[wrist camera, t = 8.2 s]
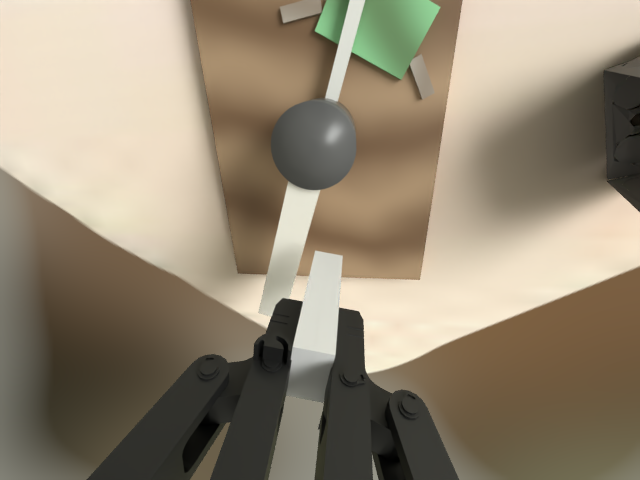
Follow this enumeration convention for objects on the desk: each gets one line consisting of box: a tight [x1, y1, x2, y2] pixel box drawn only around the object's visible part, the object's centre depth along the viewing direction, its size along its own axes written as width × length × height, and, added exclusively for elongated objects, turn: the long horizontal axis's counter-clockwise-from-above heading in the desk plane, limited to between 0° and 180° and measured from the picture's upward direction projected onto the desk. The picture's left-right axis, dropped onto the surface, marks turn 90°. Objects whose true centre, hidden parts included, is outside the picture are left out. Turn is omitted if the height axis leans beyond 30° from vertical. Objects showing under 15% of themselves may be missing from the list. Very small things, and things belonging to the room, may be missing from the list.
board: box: [190, 0, 462, 280], centre depth 21 cm, size 24×16×2 cm, turn 1°
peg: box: [259, 0, 365, 317], centre depth 19 cm, size 22×4×6 cm, turn 165°
